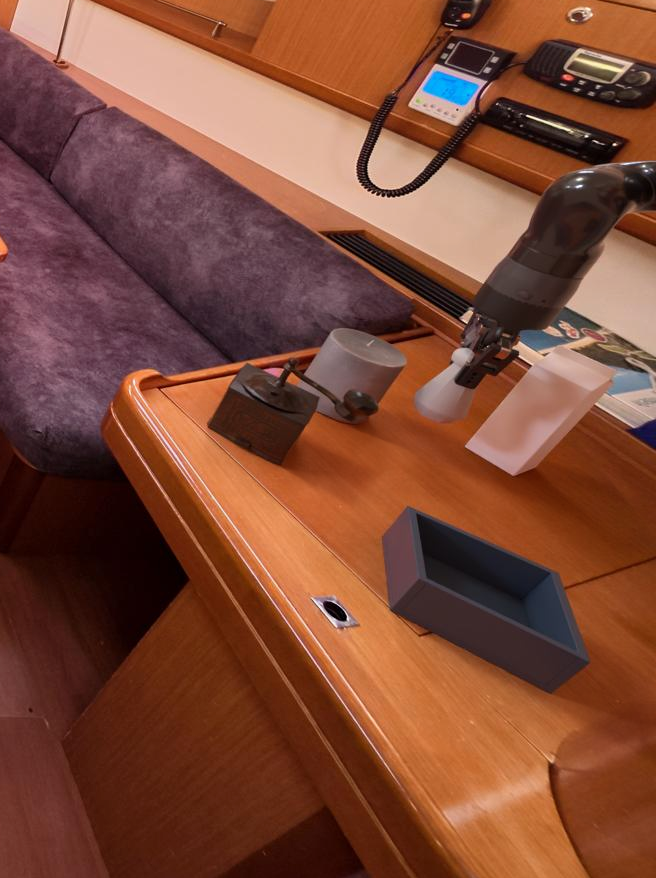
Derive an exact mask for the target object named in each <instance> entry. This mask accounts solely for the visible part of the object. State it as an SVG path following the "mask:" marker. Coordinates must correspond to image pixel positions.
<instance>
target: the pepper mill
mask: <svg viewBox="0 0 656 878" xmlns="http://www.w3.org/2000/svg"><path fill="white" fill-rule="evenodd" d="M299 364H300V361H299V359H298V358H296V357H294V356H292V357H289V358H288V359H287V362H286V363H285V362H284V364H283V368H284V369H283V371H282V372H281V373H280V375H279V377H278V376H276V375H274V374H272V373H270V372H268V371H265V370H264V369H262V368H260V367H258V366H255V365H254V364H251V363H249V362H246V363H245V364H244V365H242V367H241V368H240V369H239V370H238V372H237V373H236V375H235V376H234V377H233V378H232V380H231V382H230V383H229V385H228V387H227V389H226V391H225V392H224V394H223V396H222V398H221V400H220V402H219V404H218V405H217V407H216V408H215V411H214V412H213V413H212V414H211V416H210V418H209V419H208V420H207V423H206V424H207V428H209V429H211V430H212V431H214V432H216V433H217V434H218V435H221V436H222V437H224V438H226V439H228V440H229V441H231V442H233V443H234V444H236V445H238V446H240V447H241V448H243V449H245V450H247V451H249V452H252V453H254V454H256V455H258V456H260V457H261V458H264V460H267V461H270V462H272V463H275V464H276V465H278V466H283V465H284V463H285V462H286V460H287V459H288V458H289V456H290V454H291V452H292V450H293V449H294V446H295V445H296V443H298V440H299V439H300V437H301V435H302V433H303V432H304V431H305V429H306V427H307V426H308V425H309V424H310V422H311V420H312V418H313V416H314V414H315V413H316V412H317V411H316V409H317V406H318V401H319V399H320V397H318V396H316V395H314V394H312V393H310V392H308V391H306V390H304V389H302V388H300V387H297V385H295V384H294V383H291V382H289V381H287V380H288V378H289V377H290V375H291V373H292V374H293V375H294V376H295V377H296V378H298V379H299V380H302V381H304V382H305V383H307V384H309V385H310V386H312V387H314V388H315V389H317V390H318V391H320V392H321V393H323V394H324V395H325V396H327V397H328V398H329V399H330V400H331V401H332V402H333V403H334V405H335V406H334V408H335V411H336V412H337V413H338V414H339V415H340V416H341V417H342V418H344V419H346V420H348V421H350V422H353V421H357V418H358V416H369V417H371V416H373V415H376V414H377V413H379V403H377V402H376V401H375V400H374V399H373V398H372V397H371V396H370V395H369V394H367V393H365V392H363V391H360V390H356V389H352V390H348V391H347V393H346V394H345V395H344V396H343V400H344V401H343V403H342V402H341V401H340V400H339V399H338V398H337V397H336V396H335V395H334V394H332V393H331V392H330V391H328V390H327V389H325V388H324V387H322V386H321V385H319V384H318V383H316V382H315V381H313V380H311V379H310V378H308V377H307V376H305V375H304V374H305V373H304V374H303V373H302V372H301V371H299V370H297V366H298V365H299Z"/></svg>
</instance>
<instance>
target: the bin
mask: <svg viewBox="0 0 656 878" xmlns="http://www.w3.org/2000/svg"><path fill="white" fill-rule="evenodd" d="M381 541H382V550H383V559H384V569H385V577H386V579H385V580H386V587H387V596H388V607H389V611H390V612H392V613H394V614H397V615H398V616H400V617H402V618H403V619H406V620H408V621H410V622H411V623H413V624H416V625H418V626H420V627H421V628H423V629H425V630H427V631H429V632H431V633H433V634H434V635H436V636H438V637H441V638H442V639H444V640H446V641H448V642H449V643H452V644H454V645H456V646H458V647H460V648H462V649H464V650H466V651H467V652H469V653H471V654H473V655H475V656H477V657H479V658H481V659H482V660H485V661H486V662H488V663H490V664H493V665H494V666H496V667H498V668H500V669H502V670H504V671H506V672H508V673H510V674H512V675H514V676H515V677H517V678H519V679H521V680H523V681H525V682H527V683H528V684H531V685H533V686H535V687H536V688H538V689H540V690H542V691H544V692H546V693H548V694H550V695H552V694H553V693H555V692H556V691H557V690H558V689H559V688H561V687H562V686H563V685H565V684H566V683H568V681H570V680H571V679H572V678H574V677H575V676H576V675H577V674H578V673H580V672H582V671H583V669H585V668H586V667H588V666H589V665H590V664H591V659H590V657H589V653H588V651H587V648H586V646H585V643H584V640H583V637H582V634H581V631H580V628H579V625H578V623H577V620H576V617H575V614H574V611H573V609H572V606H571V604H570V603H571V602H570V600H569V598H568V595H567V592H566V589H565V587H564V583H563V581H562V578H561V575H560V572H558V571H556V570H554V569H551V568H549V567H547V566H545V565H543V564H540V563H538V562H536V561H534V560H532V559H529V558H526V557H524V556H522V555H520V554H518V553H516V552H514V551H511V550H509V549H506V548H504V547H502V546H500V545H497V544H495V543H493V542H492V541H489V540H486V539H485V538H482V537H479V536H477V535H475V534H473V533H471V532H468V531H466V530H465V529H464V530H463V529H461V528H460V527H457V526H455V525H452V524H450V523H448V522H446V521H443V520H442V519H439V518H436V517H434V516H432V515H430V514H427V513H425V512H423V511H421V510H419V509H417V508H414V507H412V506H410V505H406V507H404V509H403V511H402V512H401V513H400V514H399V515H398V517H397V518H396V519H394V521H393V523H392V524H391V525H390V526H389V527H388V529H387V530H386V531H385V532H384V533H383V534H382V535H381Z"/></svg>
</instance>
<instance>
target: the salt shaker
mask: <svg viewBox="0 0 656 878" xmlns="http://www.w3.org/2000/svg"><path fill="white" fill-rule="evenodd" d="M471 353H472V351H471V350H470V349H469V348H463V347H460V348H456V349H455V350H454V351H453V353H452V355H451V357H450V359H451V360H452V361H453V362H454V363H453V364H451V365H450V364H449V366H447V367H446V368H445V369H444V370H443V371H441V372H440V373H439V374H437V375H436V376H435V377H434V378H432V379H431V380H429V381H428V382H426V384H424V385H423V386H422V387H420V388H418V390H416V392H415V394H414V397H413V398H414V399H413V401H414V409H415V410H416V411H417V412H418V413H419V414H420V415H421V416H422V417H424V418H427V419H429V420H431V421H433V422H435V423H438V424H447V425H451V424H454V423H456V422H459V421H461V420H464V419H466V418H467V416H468V414H469V411H470V409H471V406H472V403H473V401H474V398H475V395H476V393H477V390H478V387H479V385H478V386H477V387H476V388H475V389H468V388H465V387H463V386H460V385H457V384H455V382H454V378H455V377H456V376H457V374H458V373H459V372H460V370H461V369H462V368H463V366H464V365H465V364H466V361H467V360H468V358H469V356H470V355H471ZM485 364H488V363H485Z"/></svg>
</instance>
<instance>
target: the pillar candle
mask: <svg viewBox="0 0 656 878" xmlns="http://www.w3.org/2000/svg"><path fill="white" fill-rule="evenodd" d="M407 364H408V358H407V357H406V355H405V354H404V353H403V351H401V350H400V349H399V348H397V347H396V346H394V345H392V344H391V343H389V342H388V341H386V340H384V339H382V338H380V337H378V336H375V335H373V334H370V333H368V332H365V331H360V330H358V329H355V328H354V329H353V328H348V327H347V328H346V327H339V328H334V329H333V330H332V331H331V332H330V333H329V335H328V336H327V338H326V339H325V341H324V342H323V344H322V346H321V347H320V348H319V350H318V351H317V353H316V355H315V357H314V358H313V360H312V361H311V363H310V365H309V366H308V367H307V369H306V370H305V372H304V375H305V376H307V377H308V378H310V379H311V380H313V381H315V382H316V383H318V384H319V385H321V386H322V387H324V388H325V389H327V390H328V391H330V392H331V393H332V394H334V395H335V396H336V397H337V398H338V399H339V400H340V401H341V402H342V403H343V401H344V400H343V396H344V395H345V394H346V393H347V391H348V390H352V389H356V390H360V391H363V392H365V393H367V394H369V395H370V396H371V397H372V398H373V399H374V400H375V401H376V402H377V403H378V404H380V402H381V401H382V399H384V396H385V395H386V394H387V392H388V391H389V389H390V388H391V386H392V385H393V384H394V382H395V381H396V380H397V378H398V377H399V375H400V374H401V372H402V371H403V369H405V367H406V366H407ZM296 386H297V387H300V388H302V389H304V390H306V391H308V392H310V393H312V394H314V395H316V396H318V397H320V399H319V401H318V406H317V409H316V411H315V412H317V413H320V414H322V415H325V416H326V417H329V418H331V419H333V420H336V421H338V422H341V423H344V424H351V425H352V424H353V425H360V424H362V423H364V422H366V420H368V419H369V418H370V416H358V418H357V421H353V422H350V421H348V420H346V419H344V418H342V417H341V416H340V415H339V414H338V413H337V412H336V411H335V408H334V406H335V405H334V403H333V402H332V401H331V400H330V399H329V398H328V397H327V396H325V395H324V394H323V393H321V392H320V391H318V390H317V389H315V388H314V387H312V386H310V385H309V384H307V383H305V382H304V381H302V380H301V379H299V382H298V384H296Z"/></svg>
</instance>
